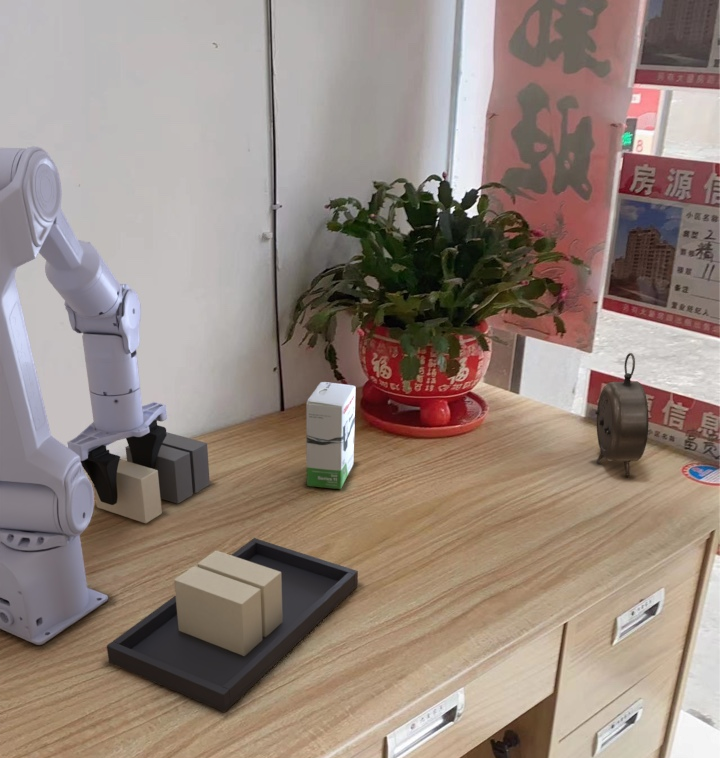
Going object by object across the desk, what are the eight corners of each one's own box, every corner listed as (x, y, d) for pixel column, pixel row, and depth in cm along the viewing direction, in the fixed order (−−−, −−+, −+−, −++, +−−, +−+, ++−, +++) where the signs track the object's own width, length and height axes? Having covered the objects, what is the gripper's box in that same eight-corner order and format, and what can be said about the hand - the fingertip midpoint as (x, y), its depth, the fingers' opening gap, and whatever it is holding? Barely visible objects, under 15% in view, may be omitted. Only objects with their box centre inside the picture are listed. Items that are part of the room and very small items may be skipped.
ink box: (341, 490, 116) (342, 405, 110) (305, 486, 116) (304, 402, 111) (355, 463, 123) (356, 382, 118) (320, 459, 124) (320, 379, 118)
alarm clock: (641, 481, 120) (663, 367, 112) (601, 480, 120) (621, 366, 112) (621, 448, 130) (640, 341, 122) (585, 447, 130) (601, 340, 122)
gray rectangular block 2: (195, 493, 114) (192, 451, 111) (148, 479, 117) (143, 437, 115) (210, 484, 116) (207, 443, 114) (163, 470, 120) (159, 430, 117)
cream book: (145, 523, 107) (141, 479, 104) (96, 507, 110) (90, 464, 107) (162, 513, 109) (157, 470, 106) (113, 498, 112) (108, 455, 110)
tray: (224, 712, 77) (223, 694, 76) (108, 662, 83) (106, 645, 82) (357, 586, 96) (358, 570, 95) (254, 552, 101) (254, 537, 100)
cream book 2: (265, 637, 86) (263, 586, 83) (200, 613, 90) (196, 563, 87) (282, 622, 89) (281, 571, 86) (219, 599, 92) (215, 549, 89)
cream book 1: (244, 656, 84) (241, 604, 81) (178, 630, 87) (173, 579, 84) (262, 640, 86) (260, 588, 83) (197, 615, 89) (193, 565, 86)
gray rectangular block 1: (178, 504, 111) (174, 461, 109) (129, 489, 115) (125, 446, 112) (193, 494, 114) (189, 452, 111) (145, 480, 117) (141, 438, 114)
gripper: (95, 414, 95) (109, 524, 101) (182, 375, 106) (190, 477, 112) (47, 401, 98) (65, 509, 104) (137, 365, 109) (148, 464, 115)
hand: (127, 491), depth 108 cm, fingers open, 6 cm apart
